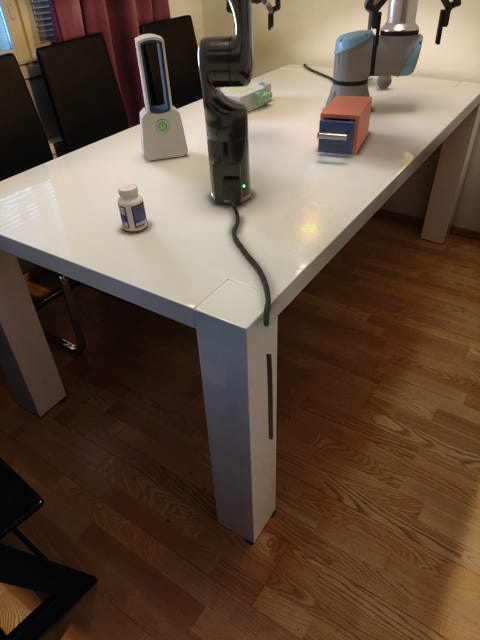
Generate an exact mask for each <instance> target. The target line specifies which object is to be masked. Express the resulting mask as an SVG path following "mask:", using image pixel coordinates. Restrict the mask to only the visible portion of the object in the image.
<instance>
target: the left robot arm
mask: <svg viewBox="0 0 480 640" xmlns="http://www.w3.org/2000/svg"><path fill="white" fill-rule="evenodd" d="M274 2H275V3H274V4H275V5H272V4H271V2H270V0H226V7H225V8H226V9H225V10H226V12H227V13H230V14H232V17H233V28H234V29H235V34H234V35H208V36H206V35H205V36H203V37H202V38H201V39H200V41H199V42H198V46H197V66H198V75H199V80H200V87H201V96H202V104H203V105H202V106H203V112H204V119H205V120H204V122H205V132H206V144H207V155H208V166H209V167H208V168H209V179H210V189H211V192H210V195H211V200H212V201H214V203H215V204H216V205H231V207H232V210H233V212H234V215H235V222H234V223H235V224H234V225H233V227H232V229H231V235H232V238H233V241H234V242H235V244H236V245H237V246H238V248H239V249H240V251H241V252H242V253H243V256H245V258H246V259H247V260H248V261H249V262H250V264H251V265H253V267H254V269H256V271H257V273H258V274H259V277H260V279H261V281H262V285H263V289H264V294H265V295H264V296H265V304H264V308H263V317H262V318H263V320H262V321H263V326H264V327H269V325H270V308H271V304H272V297H271V290H270V285H269V282H268V278H267V277H266V275H265V273H264V271H263V269H262V268H261V265H260V264H259V263H258V262H257V261H256V260H255V259H254V257H253V256H252V255H251V254H250V253H249V251H248V250H247V248H246V247H245V246H244V244H243V243H242V242H241V241H240V239H239V237H238V235H237V229H238V227H239V225H240V222H241V220H240V219H241V217H240V212H239V210H238V207H237V205H242V204H243V202H246V201H248V200H250V198H251V196H252V189H251V165H250V162H251V161H250V138H249V135H250V134H249V112H248V110H247V107H246V106H245V105H244V104H243V103H241V102H238V101H235V100H233V99H231V98H229V97H227V96H226V95H225V94H224V93H223V92H222V91H221V90H220V88H223V87H246V86H248V85H249V84H250V82H251V81H252V80H253V73H254V37H253V36H254V35H253V7H252V4H254V5H255V4H256V5H259V4H261V3H262V4H263V6H264V7H265V9H266V10H267V11H268V13H267V30H268V31H271V30H272V29H273V28H274V26H275V12H278V11H280V10H281V7H282V5H281V2H282V1H281V0H274ZM265 357H266V358H265V359H266V380H267V381H266V383H267V424H268V425H267V426H268V440H270V441H271V440H273V439H274V390H273V389H274V388H273V387H274V386H273V385H274V384H273V361H272V360H273V358H272V354H271V353H266V354H265Z"/></svg>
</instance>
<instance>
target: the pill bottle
mask: <svg viewBox="0 0 480 640" xmlns="http://www.w3.org/2000/svg"><path fill="white" fill-rule="evenodd" d="M117 193H118V196H119V197H118V199H117V206H118V210H119V211H118V212H119V215H120V219H121V224H122V227H123V229H124V230H125V231H128V232H138V231H141V230H144V229H146V227H147V226H148V217H147V214H146V208H145V203H144V198H143V196H142V195H141V194H139V188H138V185H137V184H135V183H132V182H131V183H123V184H121V185H119V186H118V187H117Z"/></svg>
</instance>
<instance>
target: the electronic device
mask: <svg viewBox="0 0 480 640" xmlns="http://www.w3.org/2000/svg"><path fill="white" fill-rule="evenodd" d="M150 43H156V48H157V55H158V64H159V70H160V77H161V85H162V92H163V101H164V103H163V104H159V105H152V101H151V100H152V99H151V94H150V93H151V91H150V86H149V80H148V74H147V66H146V61H145V53H144V47H143V46H144V45H147V44H150ZM134 44H135V51H136V52H135V53H136V57H137V64H138V69H139V75H140V83H141V89H142V96H143V102H144V107H142V108H141V110H140V111H139V130H140V143H141V144H140V145H141V151H142V154H143V157H144V158H145V159H146V160H148V162H149V161H156V160H164V159H170V158H172V159H173V158H178V157H185V156H186V154H187V153H188V152H189V149H188V144H187V139H186V134H185V129H184V126H183V120H182V116H181V112H180V111H179V110H178V108H177V107H175V106H174V105H173V100H172V99H173V98H172V93H171V85H170V77H169V69H168V60H167V53H166V45H165V39H164V38H163V37H162V36H161V35H158V34H155V33H143V34H139V35H138V36H136V37H135V38H134Z"/></svg>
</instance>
